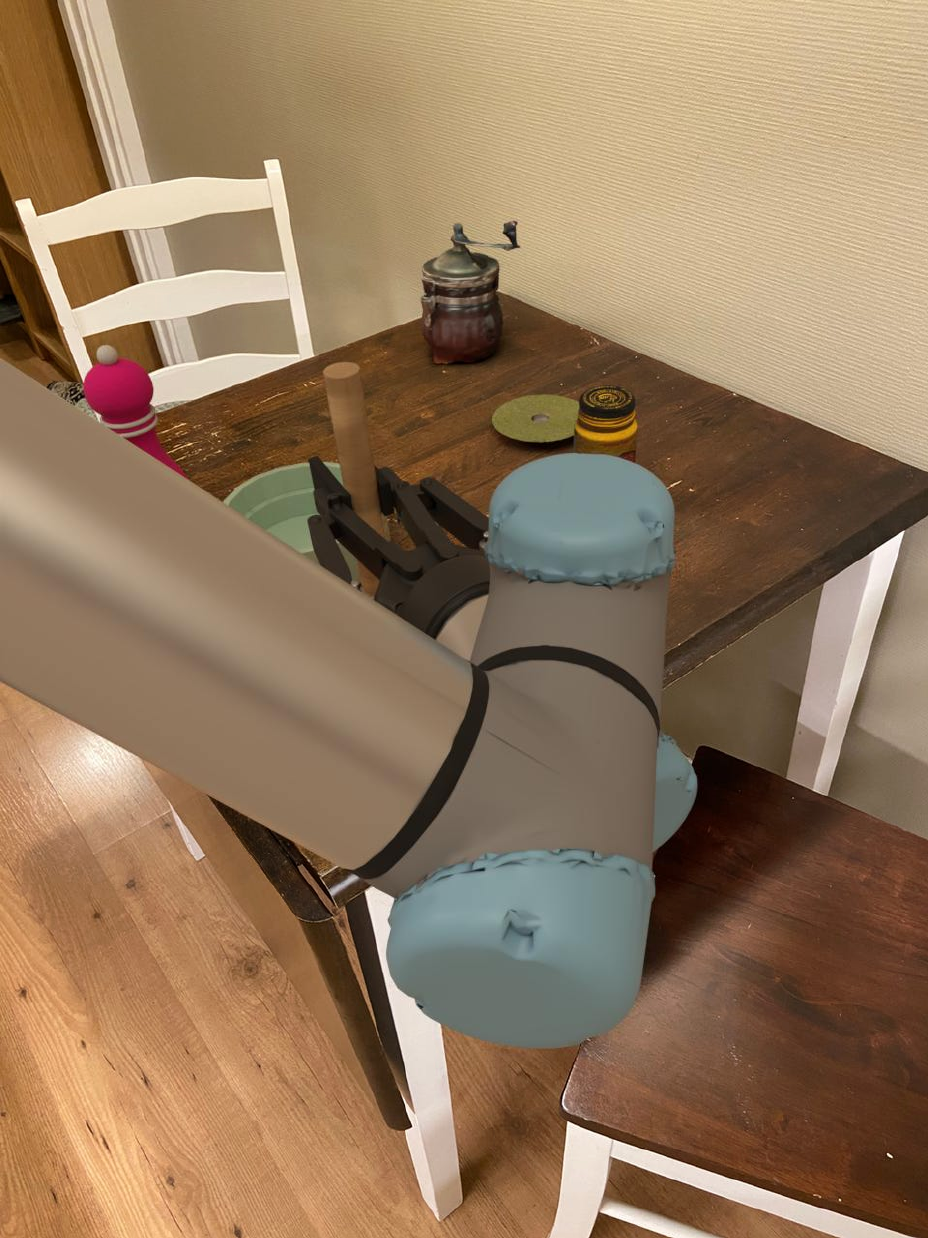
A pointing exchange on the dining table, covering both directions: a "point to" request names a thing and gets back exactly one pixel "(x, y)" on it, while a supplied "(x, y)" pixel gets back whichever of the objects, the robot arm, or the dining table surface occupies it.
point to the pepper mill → (125, 402)
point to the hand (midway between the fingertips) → (334, 466)
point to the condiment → (606, 423)
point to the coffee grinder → (463, 300)
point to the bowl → (288, 507)
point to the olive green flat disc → (537, 418)
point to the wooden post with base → (354, 450)
